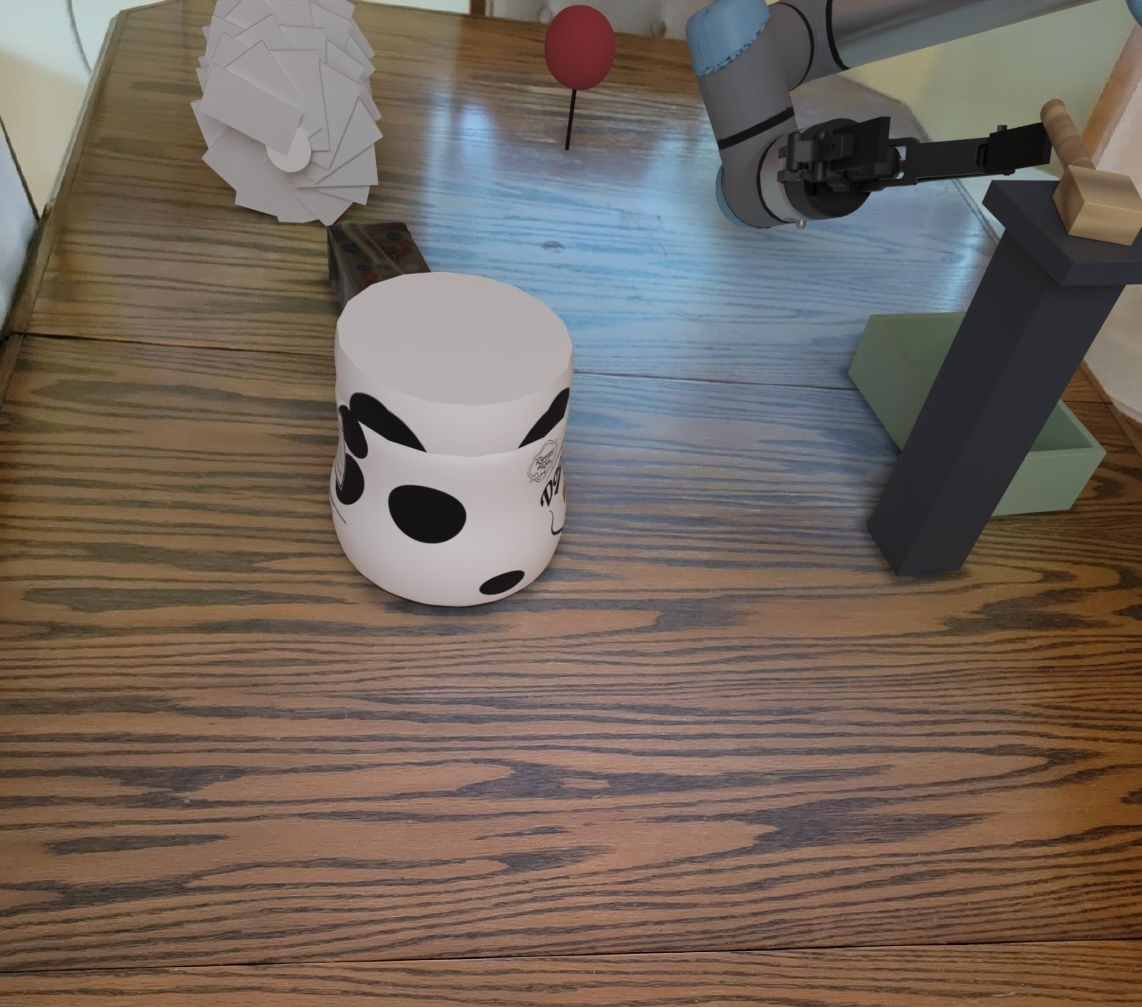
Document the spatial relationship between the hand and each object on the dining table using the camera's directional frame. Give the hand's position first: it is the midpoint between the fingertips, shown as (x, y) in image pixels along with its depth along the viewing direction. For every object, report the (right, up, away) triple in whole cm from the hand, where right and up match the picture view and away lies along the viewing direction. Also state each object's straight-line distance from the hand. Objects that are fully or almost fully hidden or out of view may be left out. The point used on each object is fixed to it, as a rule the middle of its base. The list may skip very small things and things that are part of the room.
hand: (968, 140), depth 73 cm
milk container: (-38, -28, +7) cm, 47 cm away
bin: (+8, -14, +24) cm, 29 cm away
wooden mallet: (+5, -6, -5) cm, 9 cm away
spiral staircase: (-58, +17, +37) cm, 71 cm away
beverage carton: (-45, -5, +23) cm, 51 cm away
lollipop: (-29, +28, +49) cm, 64 cm away
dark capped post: (0, -27, +13) cm, 30 cm away
